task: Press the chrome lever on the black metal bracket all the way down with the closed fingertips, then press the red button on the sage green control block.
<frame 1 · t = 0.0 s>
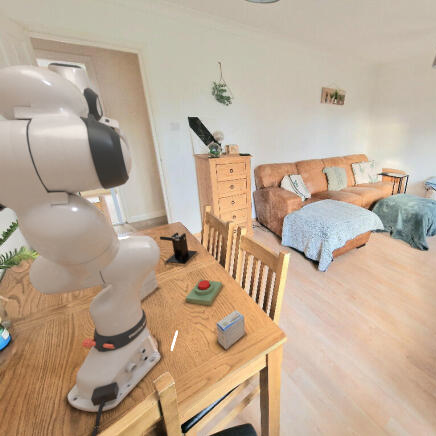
hand: (97, 164, 82), 52 cm above the table, tool tilted 20°, fingers open, 8 cm apart
lever bracket: (182, 258, 123), on the table
button block: (205, 293, 100), on the table
press lever: (173, 238, 114), point 14 cm above the table, hinge at 25.0°
medicine box: (231, 339, 80), on the table
start button: (204, 285, 98), point 4 cm above the table, slide at 0.1 cm
supplement box: (133, 295, 97), on the table
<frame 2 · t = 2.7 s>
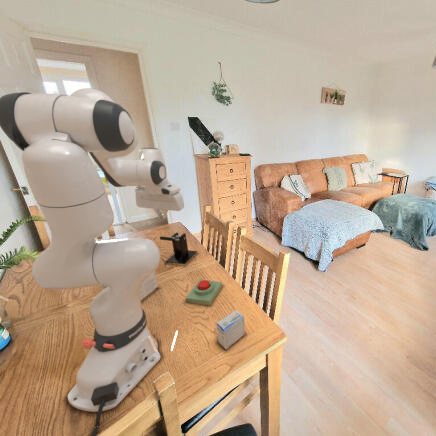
hand: (162, 217, 105), 27 cm above the table, tool pointing down, fingers closed
nothing on the table moved.
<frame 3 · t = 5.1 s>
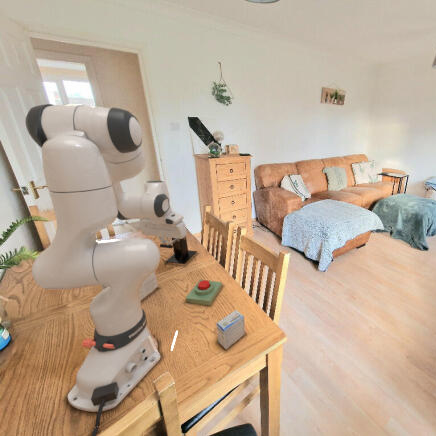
hand: (166, 244, 109), 14 cm above the table, tool pointing down, fingers closed
press lever: (173, 241, 114), point 12 cm above the table, hinge at 4.5°, touching gripper
everything else where it was.
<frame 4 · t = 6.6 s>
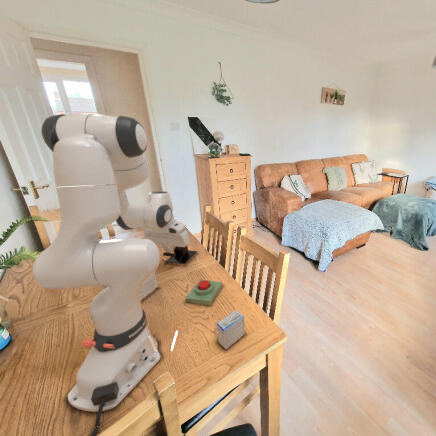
hand: (169, 252, 112), 9 cm above the table, tool pointing down, fingers closed, pressing on press lever
press lever: (174, 245, 116), point 10 cm above the table, hinge at -25.8°, touching gripper
everything else where it was.
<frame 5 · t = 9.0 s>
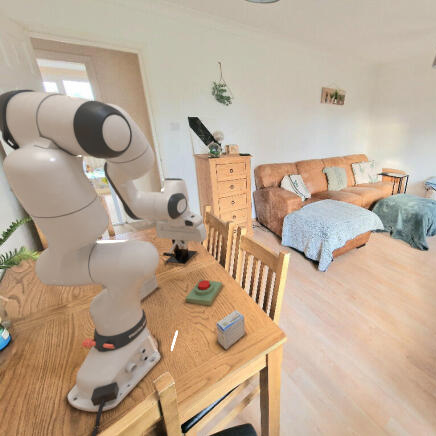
hand: (183, 248, 100), 17 cm above the table, tool pointing down, fingers closed
press lever: (174, 245, 116), point 10 cm above the table, hinge at -25.9°
everything else where it was.
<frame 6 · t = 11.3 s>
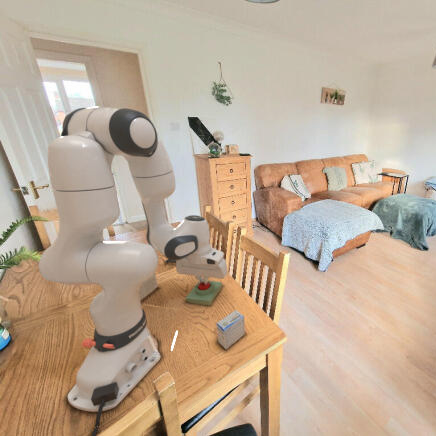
hand: (203, 283, 98), 5 cm above the table, tool pointing down, fingers closed, pressing on start button
start button: (204, 285, 98), point 4 cm above the table, slide at -0.3 cm, touching gripper
everything else where it was.
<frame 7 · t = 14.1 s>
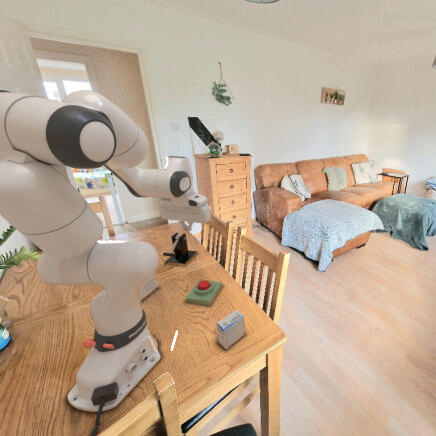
hand: (187, 230, 98), 25 cm above the table, tool pointing down, fingers closed
start button: (204, 285, 98), point 4 cm above the table, slide at 0.1 cm
everything else where it was.
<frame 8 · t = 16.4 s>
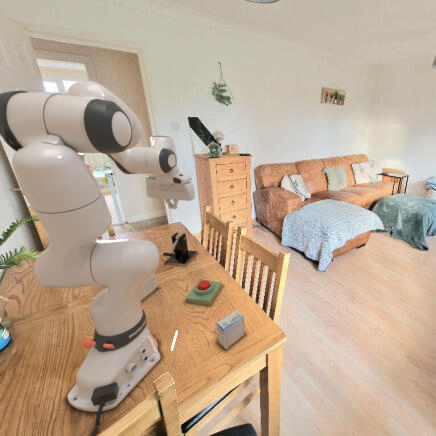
hand: (173, 208, 103), 31 cm above the table, tool pointing down, fingers closed
nothing on the table moved.
at the end: press lever at -26° (first picture: +25°); start button pushed in 1.1 cm at the most during the clip, back to where it started at the end; start button slide at 0.1 cm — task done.
